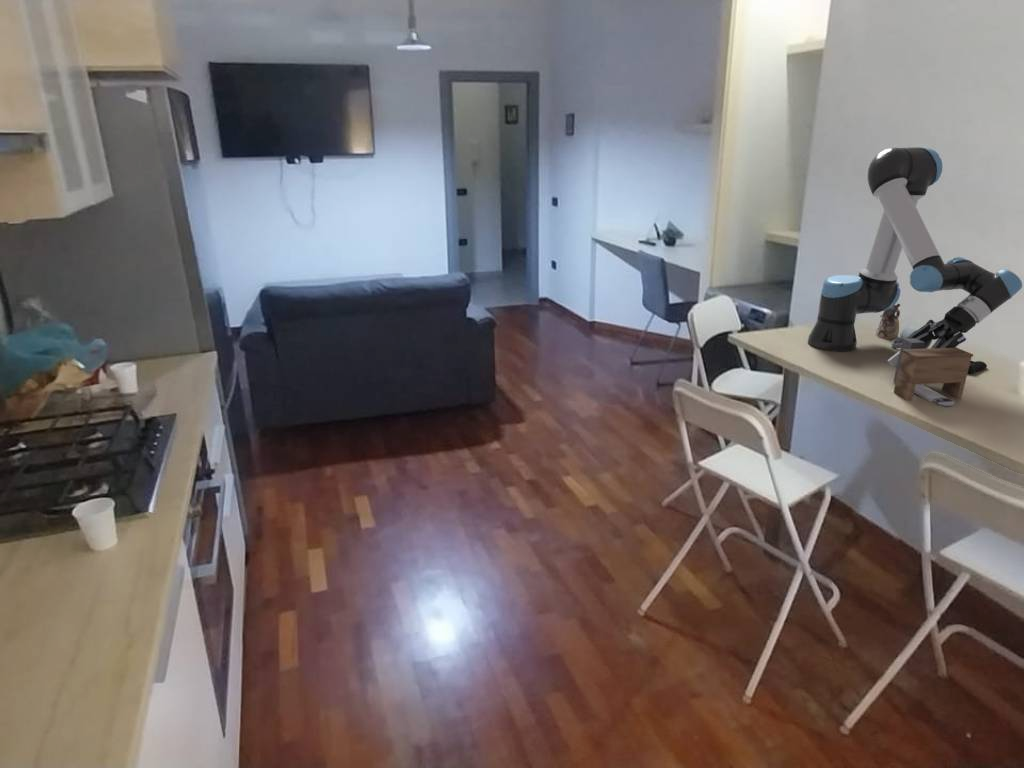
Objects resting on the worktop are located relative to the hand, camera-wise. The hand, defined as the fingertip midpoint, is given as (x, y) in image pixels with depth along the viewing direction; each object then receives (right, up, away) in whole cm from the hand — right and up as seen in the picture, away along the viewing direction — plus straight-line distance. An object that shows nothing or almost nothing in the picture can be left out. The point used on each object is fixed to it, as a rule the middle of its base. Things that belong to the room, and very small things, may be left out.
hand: (898, 368), depth 197 cm
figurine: (+22, +12, +46) cm, 53 cm away
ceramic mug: (+22, +7, +33) cm, 41 cm away
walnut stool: (+3, -8, -8) cm, 12 cm away
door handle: (+27, +2, +19) cm, 33 cm away
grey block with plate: (+3, -6, -5) cm, 9 cm away
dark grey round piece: (+4, -10, -14) cm, 18 cm away
